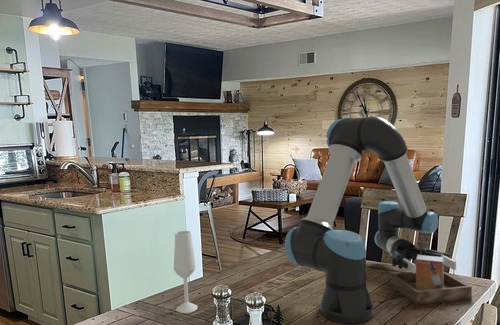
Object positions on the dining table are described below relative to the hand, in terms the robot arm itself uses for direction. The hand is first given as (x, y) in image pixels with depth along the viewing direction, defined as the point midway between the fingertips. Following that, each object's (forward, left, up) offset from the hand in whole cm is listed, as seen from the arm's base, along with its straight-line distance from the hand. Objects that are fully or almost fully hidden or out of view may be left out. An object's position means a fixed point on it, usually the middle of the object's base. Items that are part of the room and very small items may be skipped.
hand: (435, 267), depth 125 cm
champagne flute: (-78, +8, -9) cm, 79 cm away
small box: (0, +3, -9) cm, 9 cm away
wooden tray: (0, +3, -9) cm, 10 cm away
